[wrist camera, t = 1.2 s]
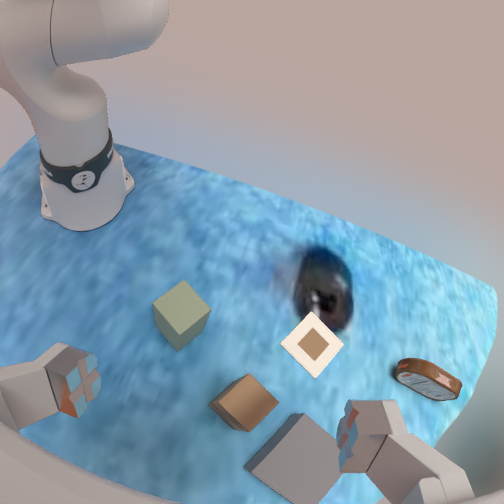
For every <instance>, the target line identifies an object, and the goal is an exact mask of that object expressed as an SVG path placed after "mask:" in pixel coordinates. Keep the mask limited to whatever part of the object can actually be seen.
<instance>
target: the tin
mask: <svg viewBox="0 0 504 504" xmlns="http://www.w3.org/2000/svg"><path fill="white" fill-rule="evenodd" d="M395 377H396V379H397V380H398V381H399V382H400V383H402V384H404V385H405V386H407V387H409V388H411V389H412V390H414V391H416V392H418V393H420V394H422V395H423V396H425V397H427V398H430V399H433V400H438V401H446V400H454V399H457V398H458V396H459V393H460V390H461V387H462V382H461V381H460V380H459V379H457V378H455V377H454V376H452V375H451V374H449V373H448V372H446V371H444V370H443V369H441V368H440V367H438V366H437V365H435V364H433V363H432V362H429V361H426V360H423V359H417V358H405V359H402V360H400V361H399V362H398V367H397V370H396V373H395Z"/></svg>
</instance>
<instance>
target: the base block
mask: <svg viewBox="0 0 504 504" xmlns="http://www.w3.org/2000/svg"><path fill="white" fill-rule="evenodd" d="M340 451H341V450H340V449H339V448H338V447H337V442H336V439H335V438H333V437H332V436H331V435H330V434H328V433H327V432H326V431H325V430H324V429H322V428H321V427H320V426H319V425H318V424H316V423H315V422H314V421H313V420H312V419H311V418H309V417H308V416H307V415H306V414H305V413H303V414H292V415H291V416H290V417H289V418H288V420H287V421H286V422H285V423H284V424H283V425H282V426H281V427H280V429H279V430H278V431H277V432H276V433H275V434H274V435H273V436H272V437H271V438H270V440H269V441H268V442H267V443H266V444H265V445H264V446H263V447H262V448H261V449H260V450H259V451H258V452H257V453H256V454H255V455H254V456H253V457H252V458H251V459H250V461H249V462H248V463H247V464H246V465H245V466H244V468H245V469H246V470H247V471H249V472H250V473H251V474H253V475H254V476H255V477H256V478H258V479H259V480H260V481H262V482H263V483H264V484H266V485H267V486H268V487H270V488H271V489H273V490H274V491H275V492H277V493H278V494H280V495H281V496H282V497H284V498H285V499H287V500H288V501H290V502H291V503H293V504H318V503H319V502H320V501H321V500H322V498H323V497H324V496H325V495H326V494H327V493H328V491H329V490H330V489H331V488H332V487H333V485H334V484H335V483H336V482H337V480H338V479H339V478H340V477H341V475H342V474H343V473H340V470H339V461H338V456H339V454H340Z"/></svg>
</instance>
